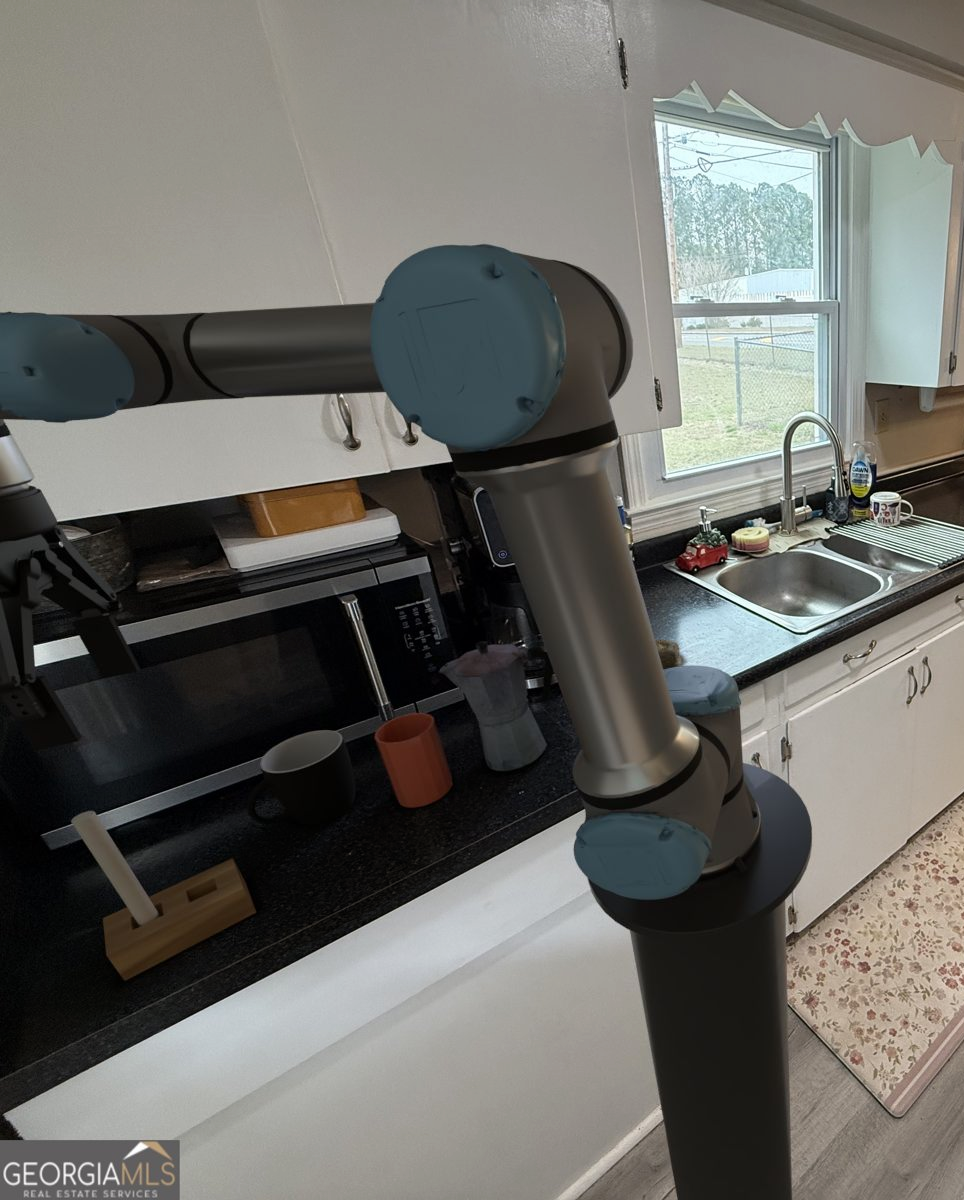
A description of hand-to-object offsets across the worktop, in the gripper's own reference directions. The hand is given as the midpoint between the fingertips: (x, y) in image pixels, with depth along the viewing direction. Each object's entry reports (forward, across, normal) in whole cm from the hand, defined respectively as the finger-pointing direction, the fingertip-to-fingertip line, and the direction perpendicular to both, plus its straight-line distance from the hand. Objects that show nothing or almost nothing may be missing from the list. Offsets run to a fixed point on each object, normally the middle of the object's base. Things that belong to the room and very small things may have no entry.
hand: (93, 705), depth 60 cm
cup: (+28, -10, +22) cm, 37 cm away
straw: (+28, +3, -3) cm, 28 cm away
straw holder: (+28, +3, -1) cm, 28 cm away
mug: (+28, -12, +9) cm, 32 cm away
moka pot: (+28, -12, +35) cm, 47 cm away
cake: (+28, -29, +62) cm, 74 cm away
